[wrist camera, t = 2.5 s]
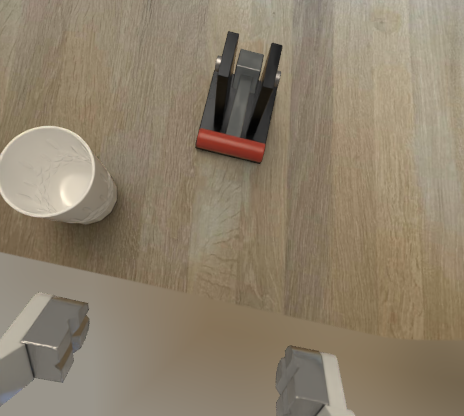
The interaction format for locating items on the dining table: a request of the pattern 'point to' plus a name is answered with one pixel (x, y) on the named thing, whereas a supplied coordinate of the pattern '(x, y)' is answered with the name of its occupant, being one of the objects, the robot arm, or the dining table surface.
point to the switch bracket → (224, 95)
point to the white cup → (55, 177)
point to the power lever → (237, 113)
